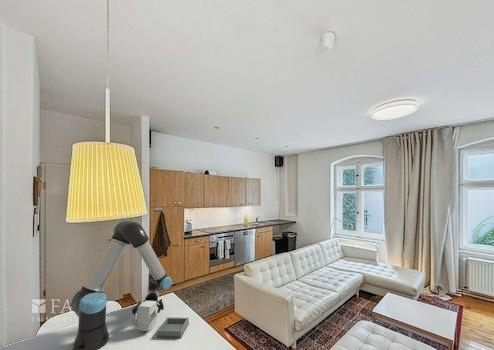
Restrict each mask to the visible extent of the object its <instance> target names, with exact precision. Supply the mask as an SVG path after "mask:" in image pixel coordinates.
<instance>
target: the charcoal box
mask: <svg viewBox="0 0 494 350" xmlns="http://www.w3.org/2000/svg"><path fill="white" fill-rule="evenodd" d="M189 319H190V318H189V317H166V318H165V320H164V321H163V323H162V324H161V325H160V327H159V328H158V329H157V330H156V338H157V339H158V338H159V339H182V337H183V335H184V333H185V331H186V330H187V329H188V326H189V324H190V320H189Z"/></svg>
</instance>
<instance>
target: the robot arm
mask: <svg viewBox="0 0 494 350" xmlns="http://www.w3.org/2000/svg"><path fill="white" fill-rule="evenodd" d="M110 239H111V242H110V244H109V246H108V248H107V250H106V251H105V252H104V255H103V256H102V258H101V260H100V261H99V263H98V265H97V266H96V268H95V270H94V272H93V273H92V275H91V277H90V278H89V281H88V282H87V283H85V284H83V285H82V287H81V288H80V290H78V291H77V292H76V293H74V294H73V296H72V299H71V302H70V305H71V309H72V311H73V312H74V313H75V315H76V316H77V317H78V328H77V329H78V331H77V334H76V337H75V338H74V342H73V345H72V350H99V349H101V348H103V347H104V346H105V345H107V343H108V342H109V339H110V337H109V336H110V333H109V330H108V327H107V325H106V319H107V317H106V316H107V304H108V300H107V296H106V294H105V293H104V292H105V285H106V283H107V281H108V280H109V278H110V276H111V274H112V272H113V270H114V269H115V268H116V265H117V264H118V261H119V260H120V258H121V256H122V255H123V252H124V251H125V249H126V247H129V246H130V245H132V248H133V249H136V251H137V252H138V253H139V256H140V257H141V259H142V260H143V263H144V264H145V266H146V268H147V269H148V275H147V276H148V277H147V278H148V283H147V294H146V296H145V299H144V301H143V302H145V301H157V308H156V312H155V317H156V318H158V317H157V316H158V314H159V313H160V312H161V311H164V303H163V299H162V298H161V299H159V296H160V293H161V290H170V288H171V286H172V284H173V280H172V277H170V276H168V273H167V272H166V271H165V269H164V268H163V265H162V264H161V262H160V260H159V258H158V256H157V254H156V252H155V251H154V249H153V247H152V245H151V243H150V242H149V241H150V238H149V235H148V234H147V233H146V231H145V229H144V227H143V226H142V225H141V224H140V223H138V222H137V221H130V220H124V221H123V220H122V221H120V222H118V223H117V224H116V225H115V226H114V228H113V235H112V236H111V238H110ZM143 302H142V301H138V303H137V304H136V305H135V306H134V307H133V308H132V312H131V313H132V315H134V320H135V321H137V320H138V306H139V305H141V304H142V303H143Z"/></svg>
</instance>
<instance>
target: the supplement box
mask: <svg viewBox="0 0 494 350" xmlns="http://www.w3.org/2000/svg"><path fill="white" fill-rule="evenodd" d="M144 301H145V300H144ZM144 301H142V302H141V303H142V304H141V305H139V306H138V318H137V320H136V321H137V323H136V324H137V325H136V330H138V331H145V332H149V331H150V330H151V329H152V328H153V327H154V326H155V325H156V324H157V317H155V312H156V308H157V304H158V303H157V301H145V302H144Z"/></svg>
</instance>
